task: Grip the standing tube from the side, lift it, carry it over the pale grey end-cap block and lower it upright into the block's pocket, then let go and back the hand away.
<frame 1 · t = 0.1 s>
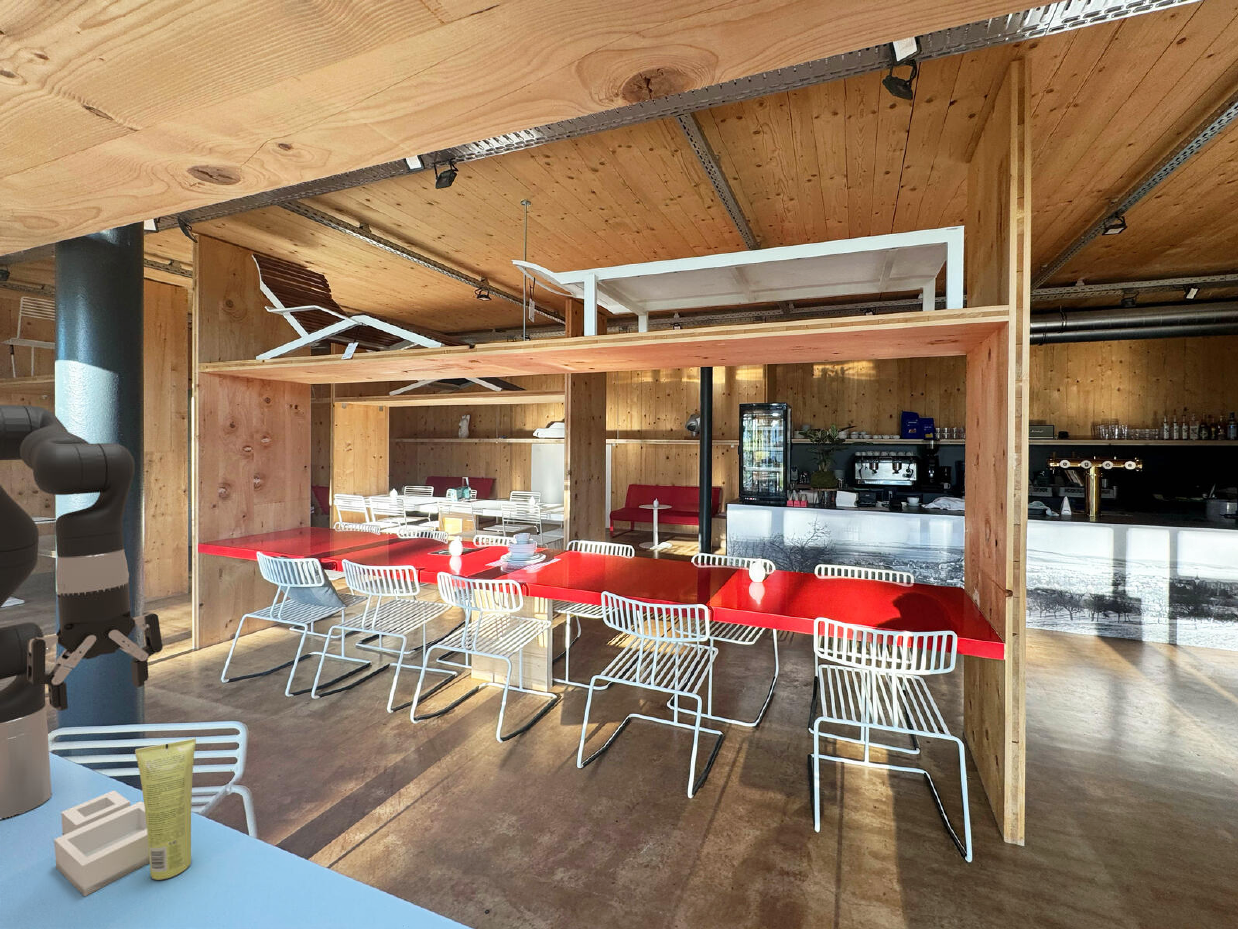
hand: (101, 697, 83), 29 cm above the table, tool pointing down, fingers open, 8 cm apart
endcap: (116, 858, 92), on the table
tube: (173, 870, 89), on the table
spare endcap: (97, 833, 99), on the table
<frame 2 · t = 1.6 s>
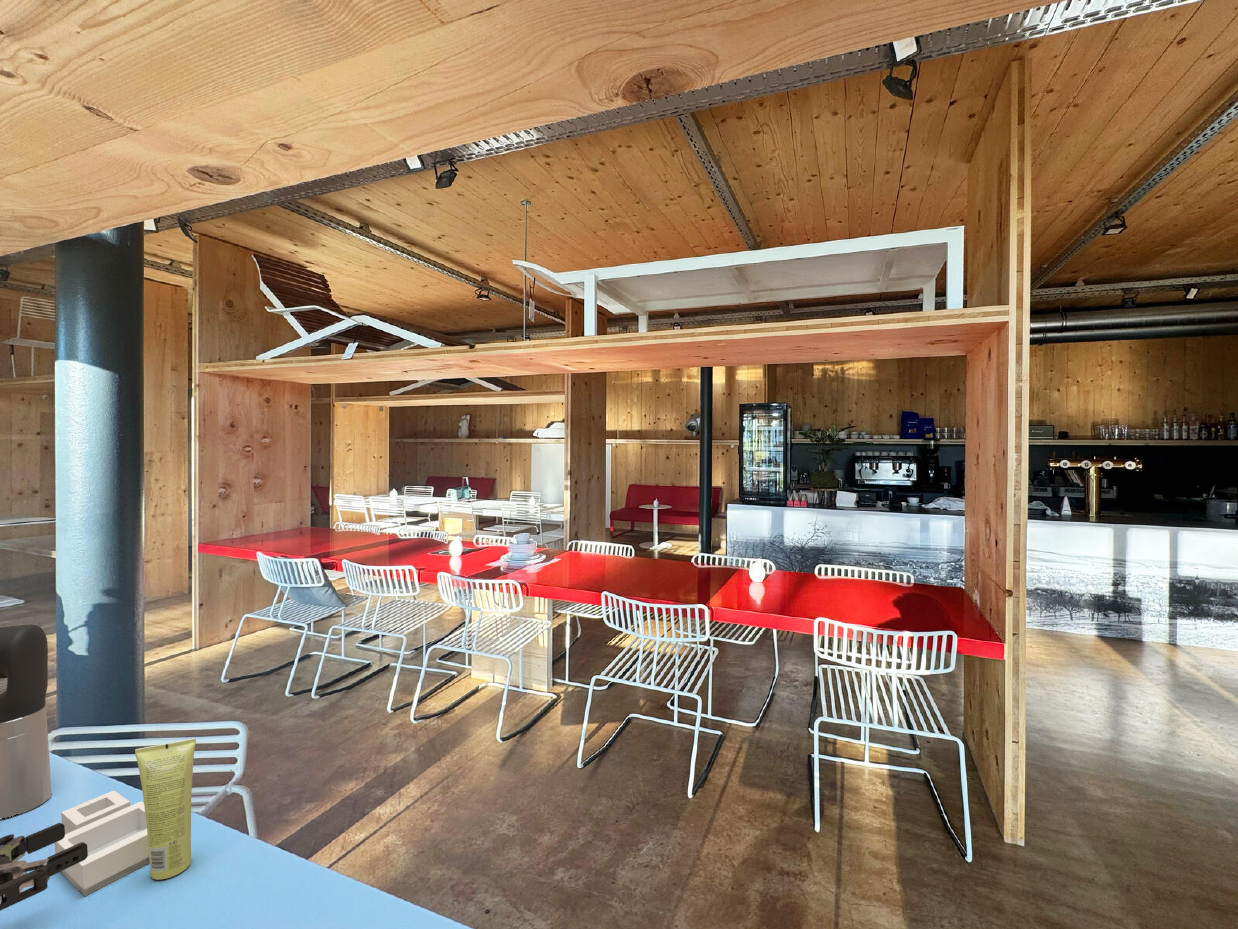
hand: (74, 839, 80), 11 cm above the table, tool horizontal, fingers open, 8 cm apart
nothing on the table moved.
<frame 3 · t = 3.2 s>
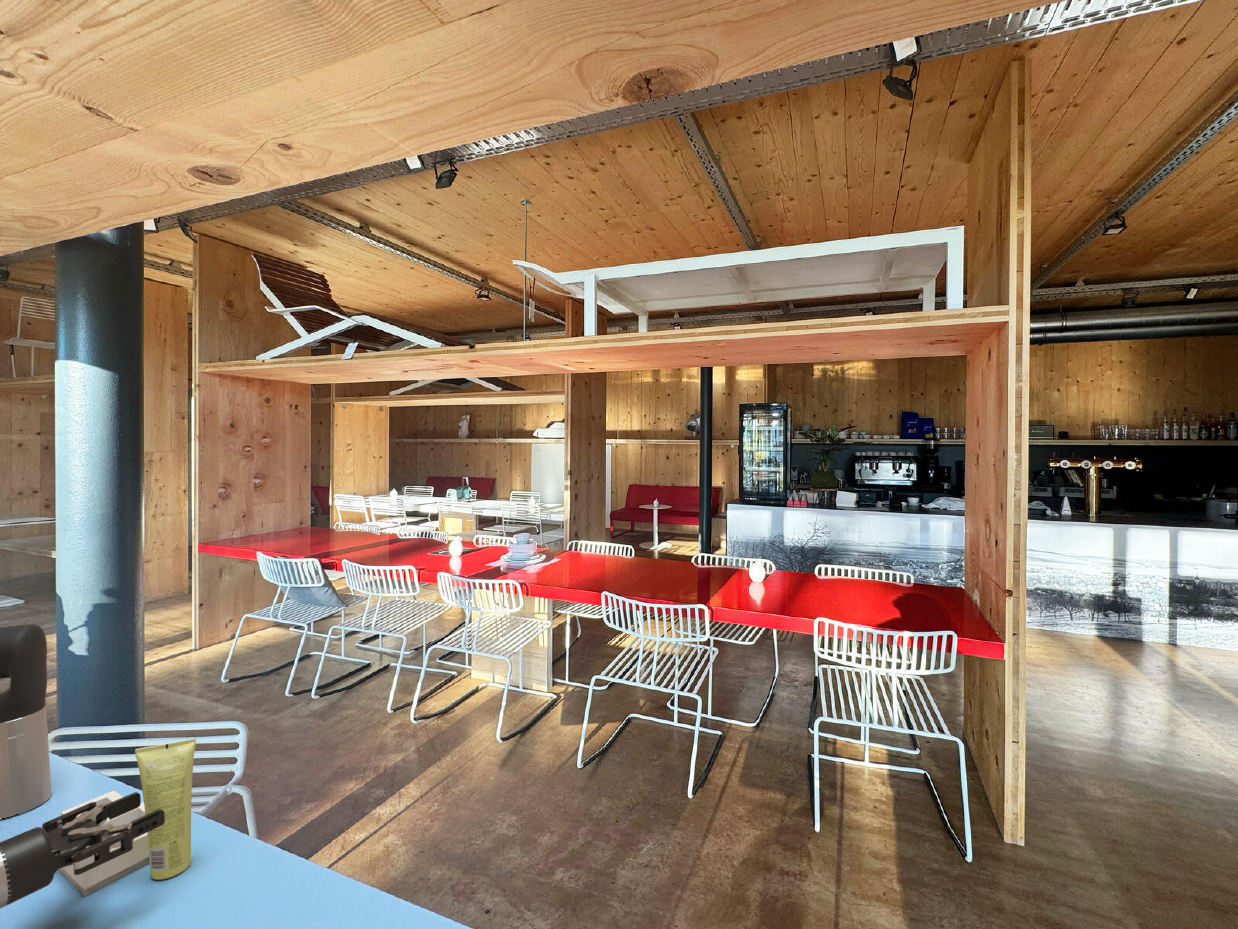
hand: (151, 807, 87), 11 cm above the table, tool horizontal, fingers open, 8 cm apart
nothing on the table moved.
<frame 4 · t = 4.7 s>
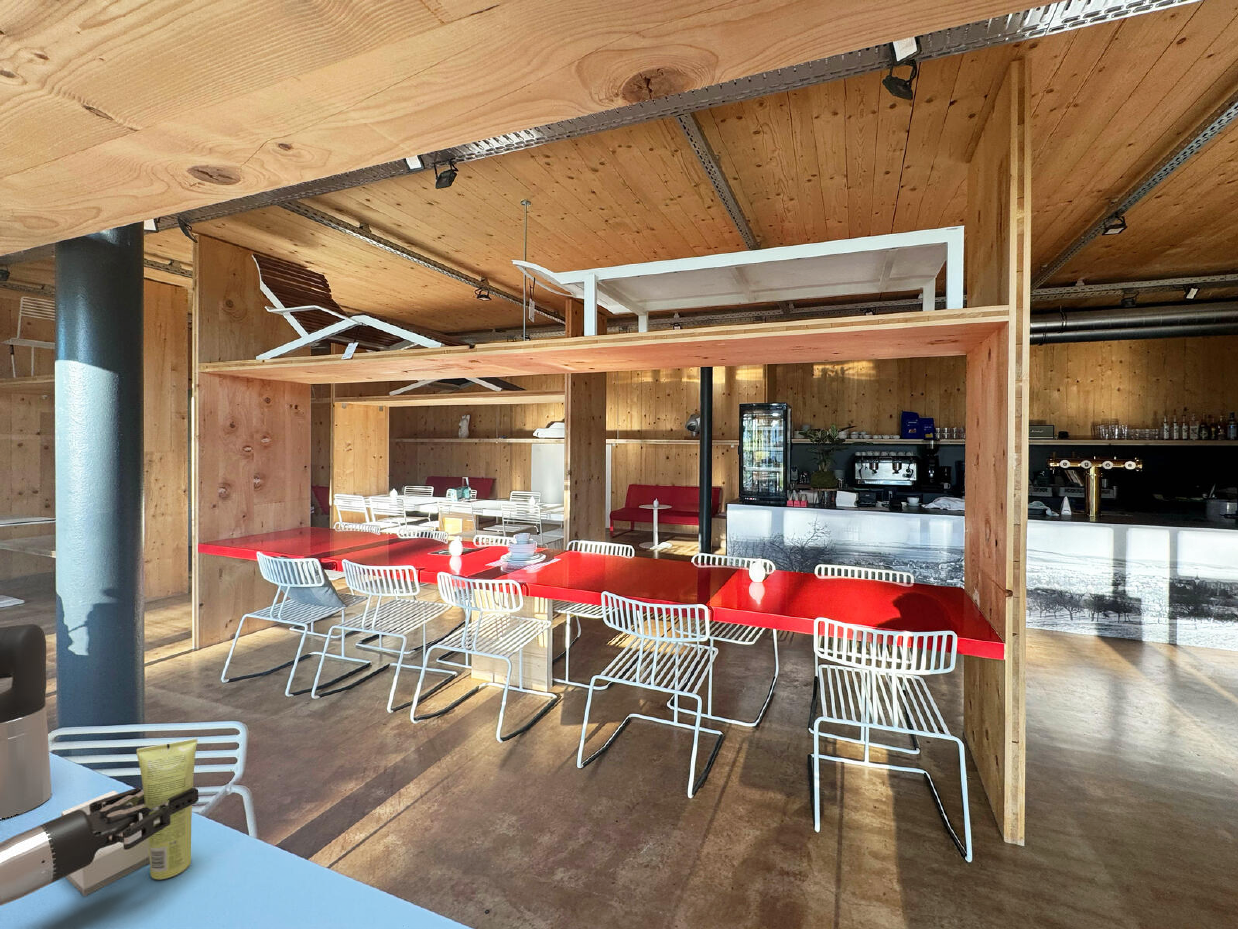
hand: (188, 789, 91), 11 cm above the table, tool horizontal, fingers closed on tube, 4 cm apart
tube: (173, 870, 89), on the table, touching gripper
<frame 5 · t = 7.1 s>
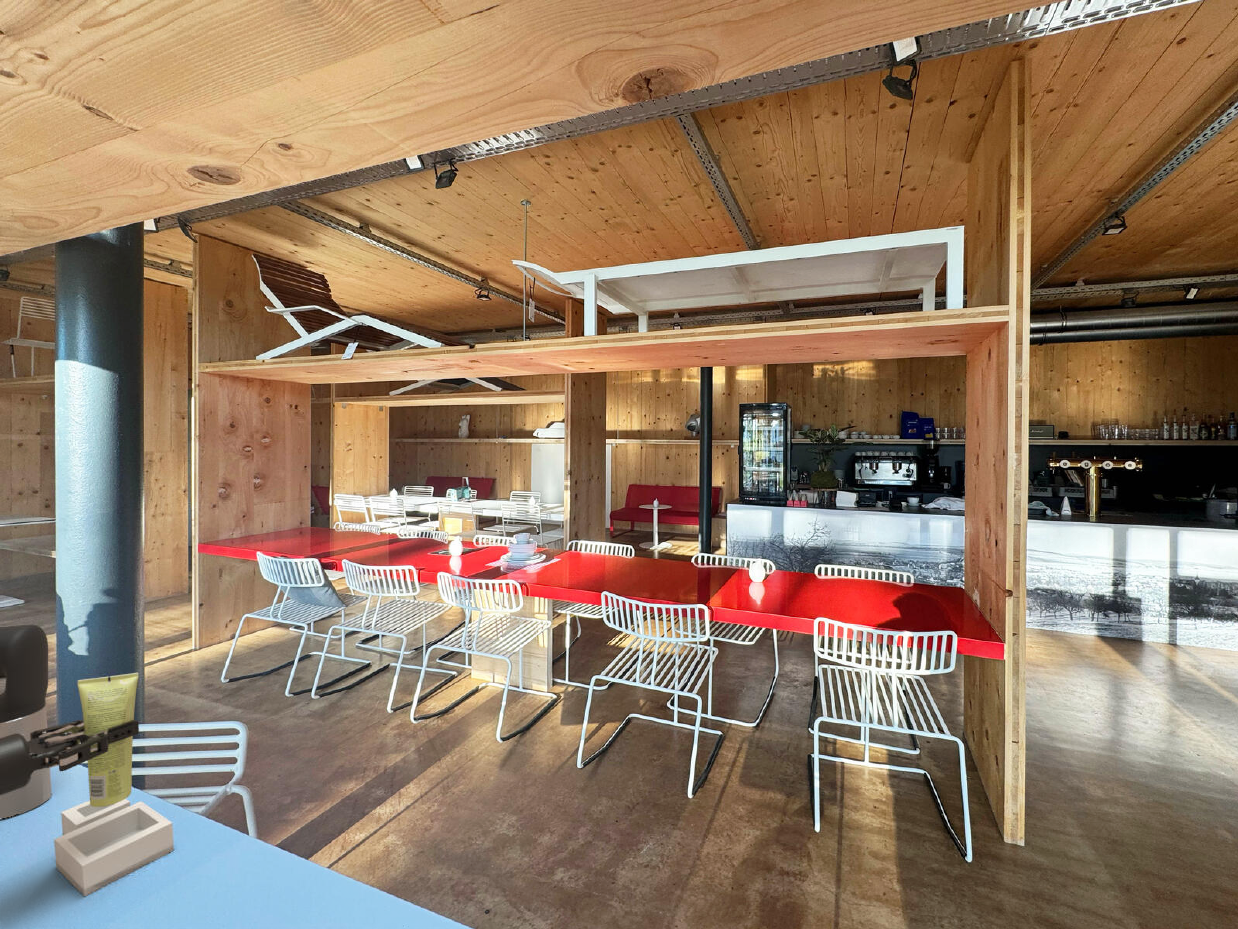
hand: (130, 722, 94), 21 cm above the table, tool horizontal, fingers closed on tube, 4 cm apart
tube: (113, 800, 92), point 9 cm above the table, touching gripper
when the fingers open (13 cm above the table, at t = 9.3 s): tube drops 1 cm, resting on endcap.
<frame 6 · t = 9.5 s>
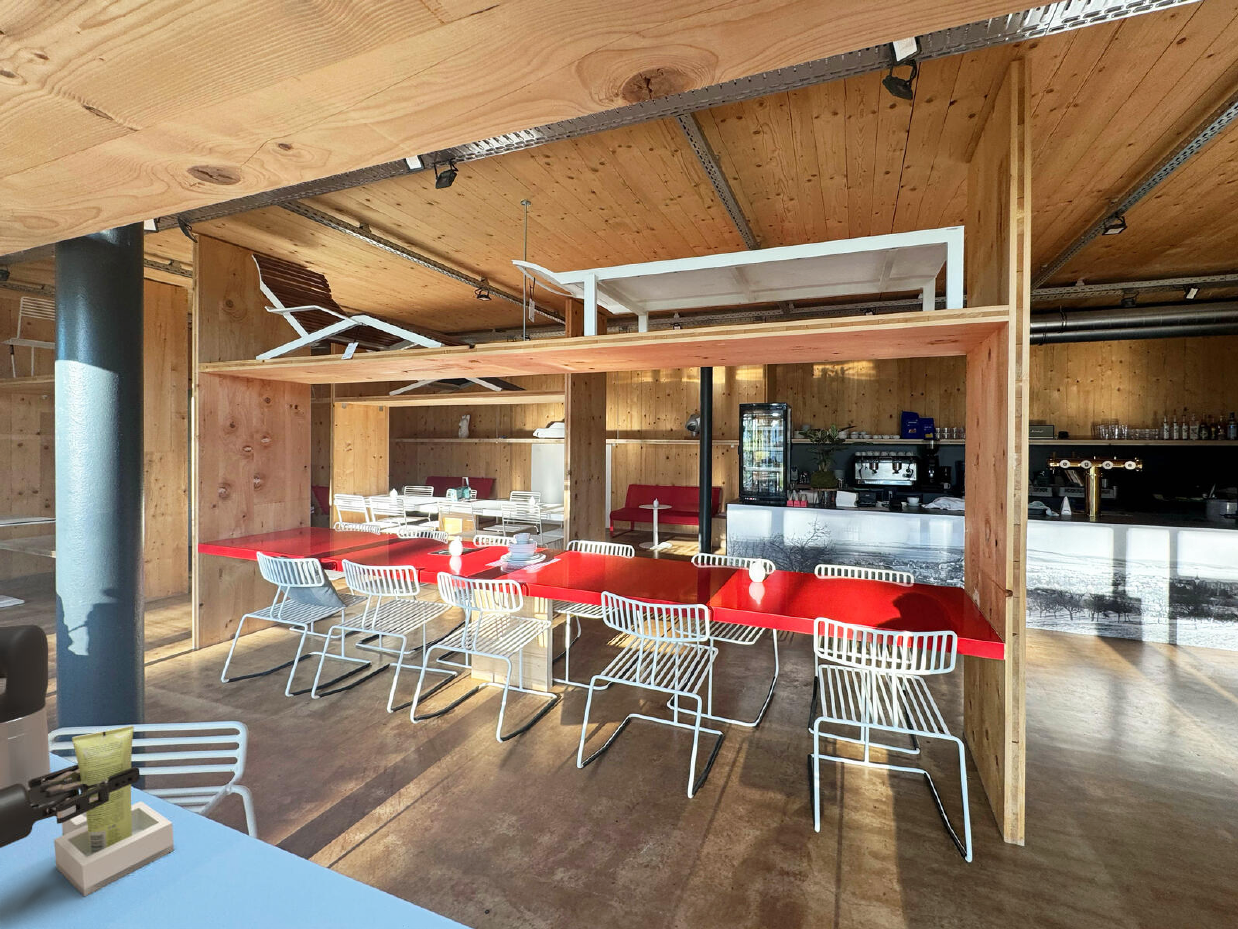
hand: (129, 767, 94), 13 cm above the table, tool horizontal, fingers open, 6 cm apart
tube: (114, 854, 92), point 1 cm above the table, touching endcap
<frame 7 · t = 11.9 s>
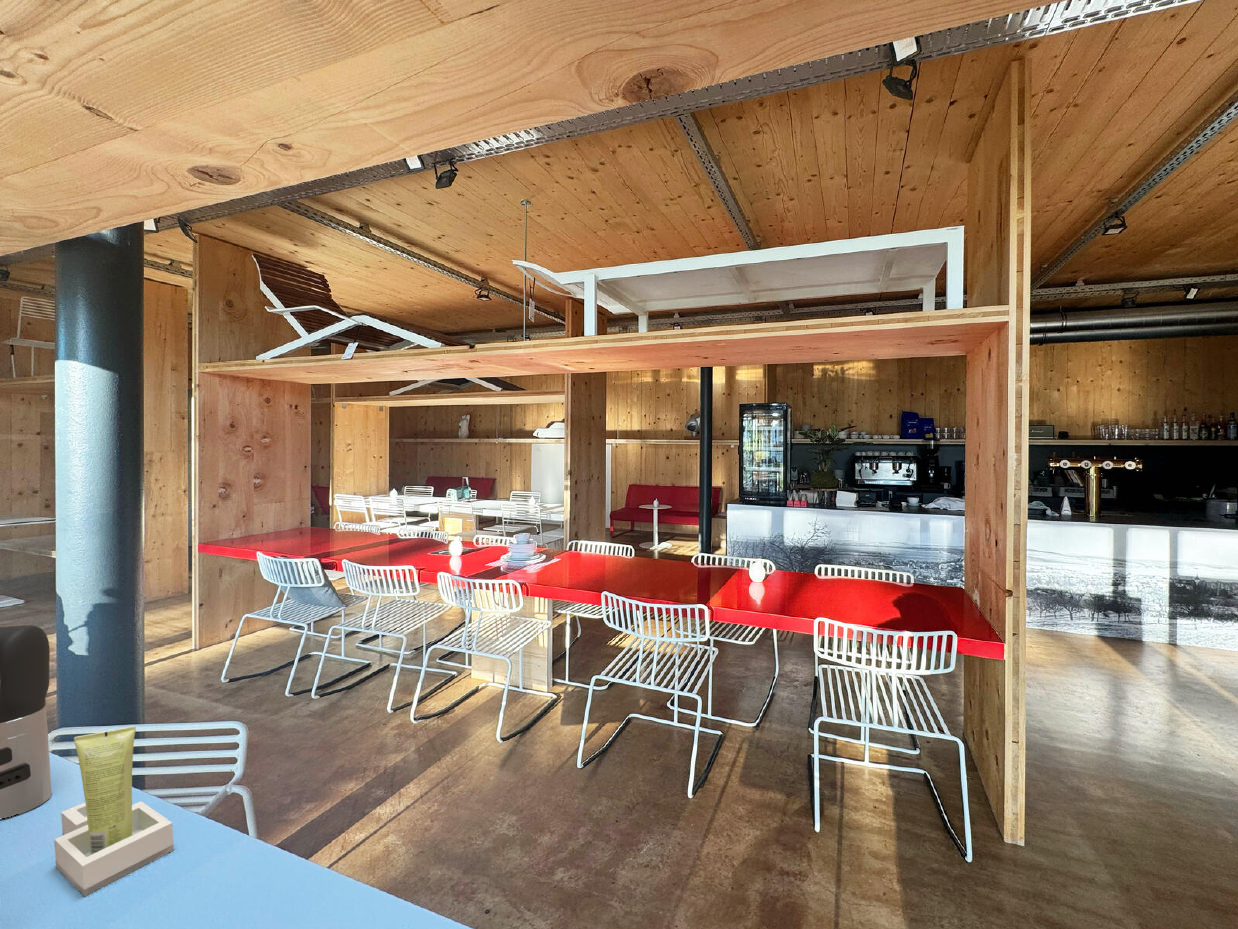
hand: (20, 761, 84), 20 cm above the table, tool horizontal, fingers open, 8 cm apart
nothing on the table moved.
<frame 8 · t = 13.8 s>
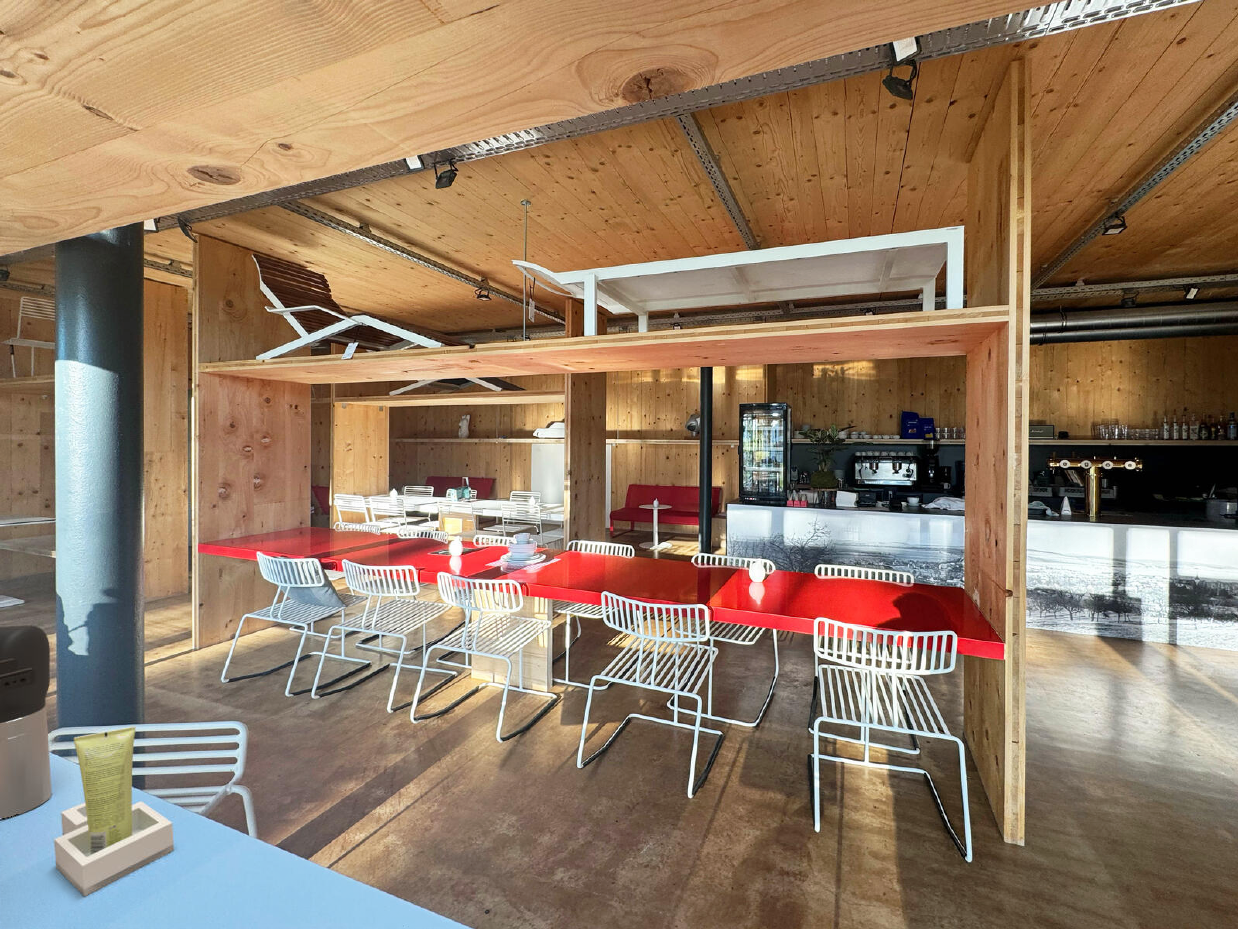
hand: (25, 670, 87), 32 cm above the table, tool horizontal, fingers open, 8 cm apart
nothing on the table moved.
at the end: tube 0.2 cm from the endcap (horizontally); tube tilted 0°; tube touching endcap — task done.
